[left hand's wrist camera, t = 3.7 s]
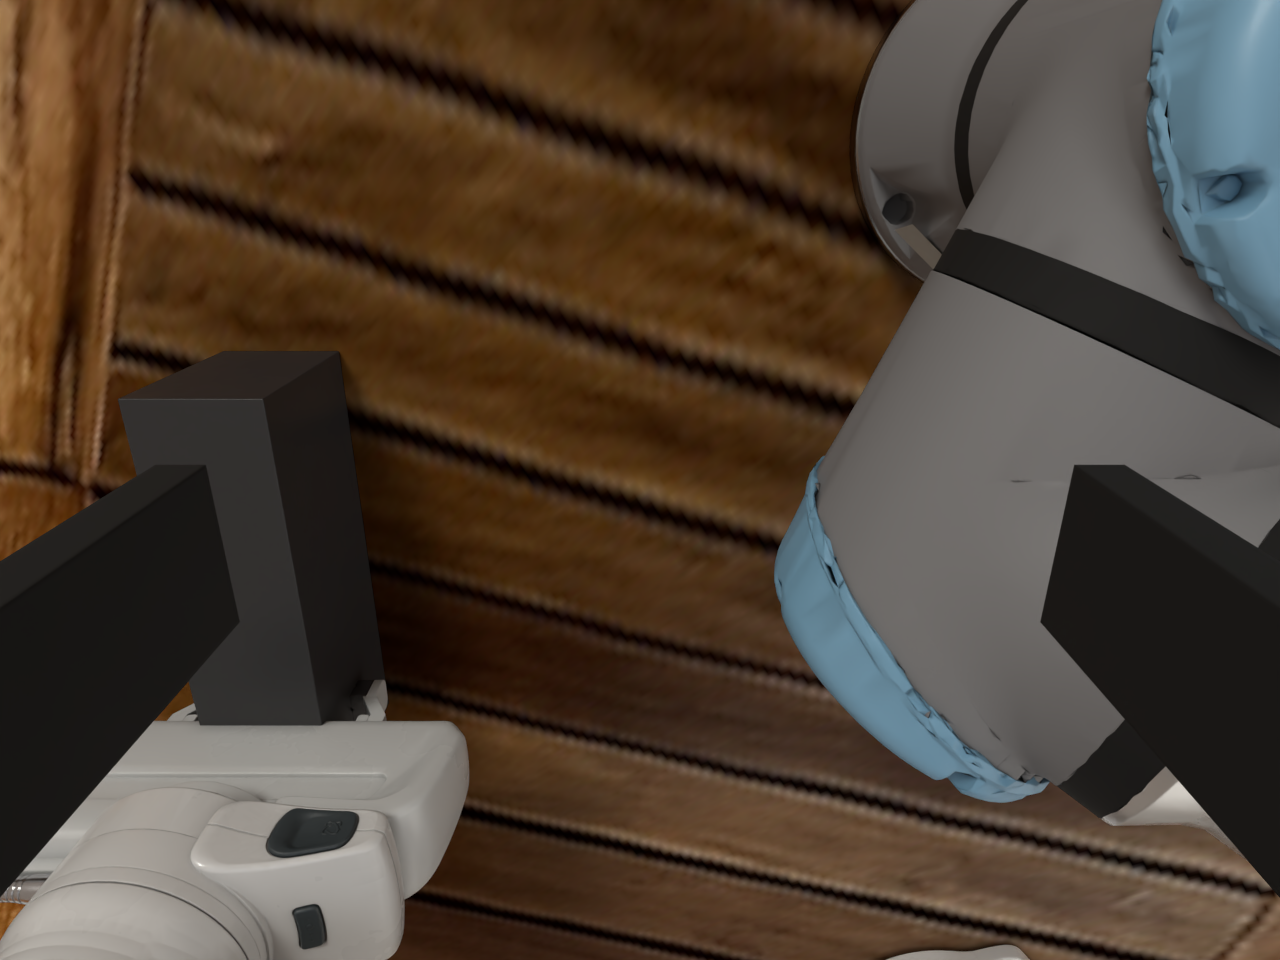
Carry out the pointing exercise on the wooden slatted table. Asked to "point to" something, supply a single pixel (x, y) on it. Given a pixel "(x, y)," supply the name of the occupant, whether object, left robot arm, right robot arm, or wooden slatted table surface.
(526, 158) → the wooden slatted table surface
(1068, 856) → the wooden slatted table surface
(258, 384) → the box
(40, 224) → the wooden slatted table surface
